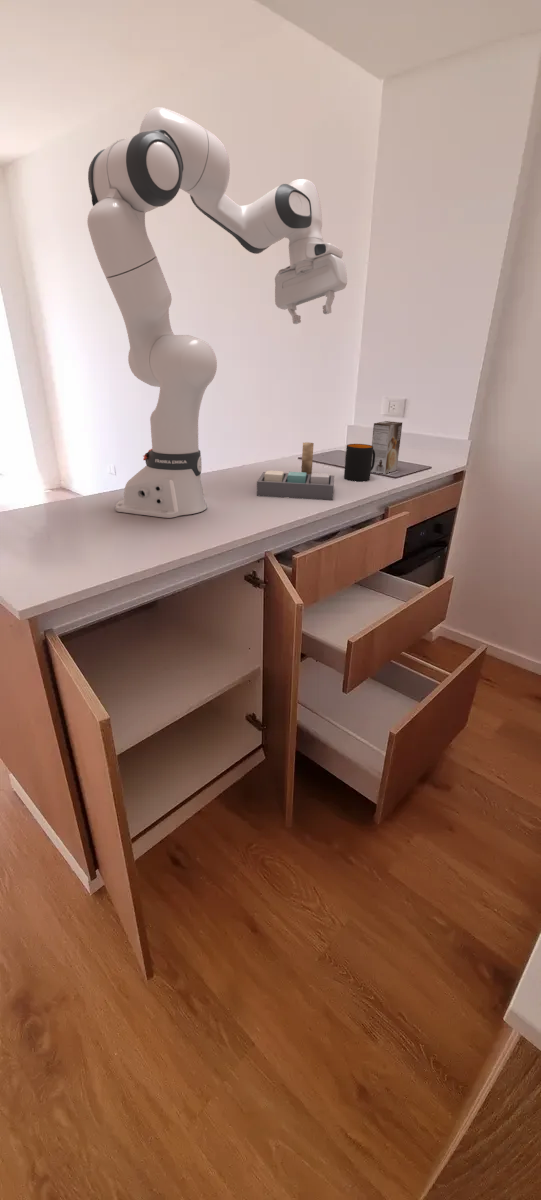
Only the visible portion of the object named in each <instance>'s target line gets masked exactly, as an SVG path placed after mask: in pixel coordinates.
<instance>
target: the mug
mask: <svg viewBox="0 0 541 1200" xmlns="http://www.w3.org/2000/svg"><path fill="white" fill-rule="evenodd" d="M372 454H373V460H372ZM374 463H375V451H374V449H373V446H372V444H364V443H349V444H347V445H346V449H345V461H344V470H343V471H344V472H343V473H344V474H343V479H344V480H345V481H349V482H355V481H356V483H357V482H358V483H359V482H361V483H363V481H365V482H368V481H370V479H371V473H372V472H371V470H372V469H373V467H374ZM371 464H372V466H371Z"/></svg>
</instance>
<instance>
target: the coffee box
mask: <svg viewBox="0 0 541 1200" xmlns="http://www.w3.org/2000/svg"><path fill="white" fill-rule="evenodd" d="M402 427H403V422H400V421H391V420H388V421H387V420H385V421H380V422H375V423H373V429H372V441H371V446H373V449H374V451H375V463H374V467H373V469H372V470H371V473H373V472H376V473H375V474H379V473H383V474H382V475H387V474H386V473H388V474H390V473H394V472H396V471H397V470H398V462H399V455H400V445H401V438H402ZM372 460H373V454H372ZM371 466H372V464H371ZM389 472H390V473H389Z"/></svg>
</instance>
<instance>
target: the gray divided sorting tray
mask: <svg viewBox="0 0 541 1200" xmlns="http://www.w3.org/2000/svg"><path fill="white" fill-rule="evenodd" d="M265 473H266V471H263V472H262V474H261V475H260V476H259V478H258V479H257V481H256V496H257V497H269V498H270V497H271V498H284V497H289V498H288V499H302V498H303V499H304V500H305V499H306V500H319V499H323V500H324V501H333V499H334V487H335V475H333V474H332V475H331V474H329V485H327V484H310V483H311V474H307V475H306V483H290V482H287V478H288V473H289V472H284V480H283V482H271V481H264V475H265Z"/></svg>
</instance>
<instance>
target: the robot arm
mask: <svg viewBox="0 0 541 1200" xmlns="http://www.w3.org/2000/svg"><path fill="white" fill-rule="evenodd" d="M87 173H88V174H87V178H88V179H87V180H88V181H87V182H88V188H89V193H90V195H91V205H92V208H91V209H90V211H89V212H88V215H87V220H86V221H87V228H88V232H89V236H90V239H91V242H92V246H93V249H94V251H95V254H96V256H97V259H98V262H99V264H100V267H101V269H102V272H103V274H104V277H105V278H106V279H105V280H106V281H107V283H108V285H109V288H110V289H111V293H112V295H113V296H114V299H115V301H116V303H117V306H118V308H119V310H120V311H119V312H120V313H121V316H122V319H123V321H124V325H125V328H126V332H127V333H126V334H127V338H128V342H129V351H128V356H127V357H128V359H127V360H128V366H129V369H130V371H131V372H132V374H133V375H134V376H135V377H136V378H137V380H140V381H141V382H143V383H144V384H147V385H149V386H151V387H155V388H156V387H157V388H159V394H158V398H157V399H158V401H157V403H156V406H155V408H154V409H153V410H152V412H151V415H150V417H149V421H150V434H151V436H150V437H151V448H150V449H149V450H148V451H147V452H146V453H145V454H144V455H142V457H143V461H145V466H144V467H142V469H140V470H139V471H138V472H137V473H136V474H134V475H133V476H132V477H131V478H130V479H129V480H128V481H127V482H126V483H125V487H124V492H123V498H122V499H120V500H119V501H117V502H116V503H115V507H114V508H115V511H116V512H119V513H125V514H126V513H127V514H132V515H133V514H135V515H142V516H151V517H156V518H157V517H159V518H164V519H165V518H168V519H169V518H175V517H180V516H187V515H192V514H197V513H200V512H201V513H202V512H203V511H205V510H206V509H208V504H207V502H206V499H205V494H204V491H203V486H202V478H201V474H202V455H201V453H202V452H201V450H200V449H199V416H200V409H201V405H202V400H203V396H204V394H205V391H206V390H207V387H208V386H209V385H210V384H211V383H212V381H213V380H214V379H215V376H216V373H217V367H218V361H217V360H218V359H217V357H216V353H215V351H214V349H213V347H212V346H211V345H210V344H209V343H208V342H206V341H205V340H203V339H200V338H198V337H195V336H192V335H189V334H174V332H173V330H172V326H171V325H172V324H171V322H170V312H169V311H170V307H171V305H172V293H171V291H170V289H169V286H168V283H167V281H166V277H165V275H164V272H163V270H162V268H161V265H160V262H159V260H158V257H157V255H156V252H155V249H154V247H153V245H152V243H151V241H150V238H149V236H148V233H147V227H146V213H148V212H150V211H152V210H155V209H157V208H159V207H164V206H166V205H167V204H169V203H170V202H171V201H172V200H174V199H175V198H176V196H177V195H178V193H179V191H180V190H182V191H183V192H185V193H187V194H188V195H189V197H190V199H191V201H192V203H193V205H194V206H195V207H196V209H198V210H199V212H201V213H202V214H203V215H204V216H205V217H207V218H209V219H210V220H211V221H212V222H214V223H215V224H216V225H218V226H219V227H221V228H222V229H223V230H224V231H226V232H227V233H229V234H230V235H231V236H232V237H233V238H235V239H236V241H238V243H239V244H240V245H241V246H242V247H243V249H244V250H246V251H248V252H249V253H251V254H255V255H256V254H258V255H259V254H261V253H263V251H265V250H267V249H268V248H269V247H271V246H272V245H274V244H276V243H278V242H279V241H281V240H283V239H288V240H289V241H288V253H289V254H288V255H289V256H288V257H289V265H288V266H286V267H284V268H282V269H279V270H278V271H277V272H276V275H275V277H274V285H275V286H274V302H275V305H276V307H277V308H278V309H281V310H287V311H288V313H289V314H290V316H291V320H292V323H293V324H294V325H297V324H301V323H302V320H301V315H299V314H297V312H296V311H297V306H299V305H302V304H305V303H308V302H311V301H314V300H316V299H319V298H322V297H325V298H326V300H325V304H324V305H322V313H323V314H324V315H329V314H331V313H332V305H333V303H334V302H333V301H334V300H335V293H337V292H339V291H342V290H345V289H346V287H347V284H348V277H347V276H348V275H347V267H346V263H345V261H344V260H343V259H342V258H343V254H344V253H343V249H341V248H340V247H338V246H337V245H335V244H333V243H330V242H324V237H323V235H322V227H323V217H322V207H321V206H322V205H321V201H320V196H319V192H318V189H317V186H316V185H315V183H314V182H313V181H311V180H309V179H306V178H298V179H294V180H292V181H291V182H289V184H287V183H282V184H280V185H277V186H276V187H274V188H273V189H271V190H269V191H268V192H266V193H265V194H264V195H262V196H261V197H259V198H257V199H256V200H254V201H253V202H252V203H248V204H245V205H240V204H238V203H237V202H235V201H234V200H233V199H232V198H230V196H228V195H227V194H226V191H227V189H228V185H229V181H230V174H231V164H230V157H229V153H228V151H227V149H226V146H225V144H224V143H223V142H222V141H221V140H220V138H218V136H216V134H214V133H213V132H211V131H210V130H209V129H207V128H205V127H204V126H202V125H200V124H199V123H198V122H196V121H194V120H192V119H191V118H189V117H188V116H186V115H183V114H181V113H179V112H176V111H174V110H172V109H169V108H167V107H162V106H156V107H153V108H151V109H149V110H148V112H147V113H146V114H145V116H144V117H143V119H142V121H141V124H140V127H139V133H137V134H135V135H134V136H130V137H126V138H122V139H119V140H116V141H115V142H113V143H111V144H110V145H109V146H107V147H106V148H104V149H101V150H100V151H98V152H97V154H96V155H95V156H94V157H93V158H92V160H91V162H90V165H89V167H88V172H87Z"/></svg>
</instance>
